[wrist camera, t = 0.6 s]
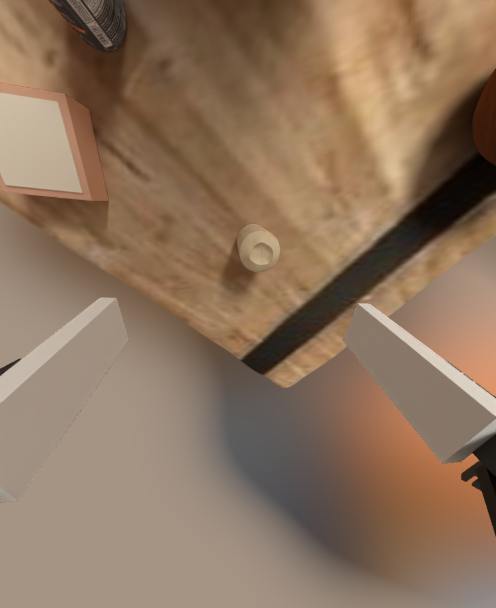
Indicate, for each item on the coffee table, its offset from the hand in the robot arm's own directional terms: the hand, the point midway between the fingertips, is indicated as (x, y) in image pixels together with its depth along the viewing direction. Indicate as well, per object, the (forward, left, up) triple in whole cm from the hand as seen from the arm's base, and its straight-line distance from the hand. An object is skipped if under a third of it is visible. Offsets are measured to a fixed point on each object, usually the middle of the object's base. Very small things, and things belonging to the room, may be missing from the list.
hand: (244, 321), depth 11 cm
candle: (0, +3, -25) cm, 25 cm away
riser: (-9, -24, -25) cm, 36 cm away
